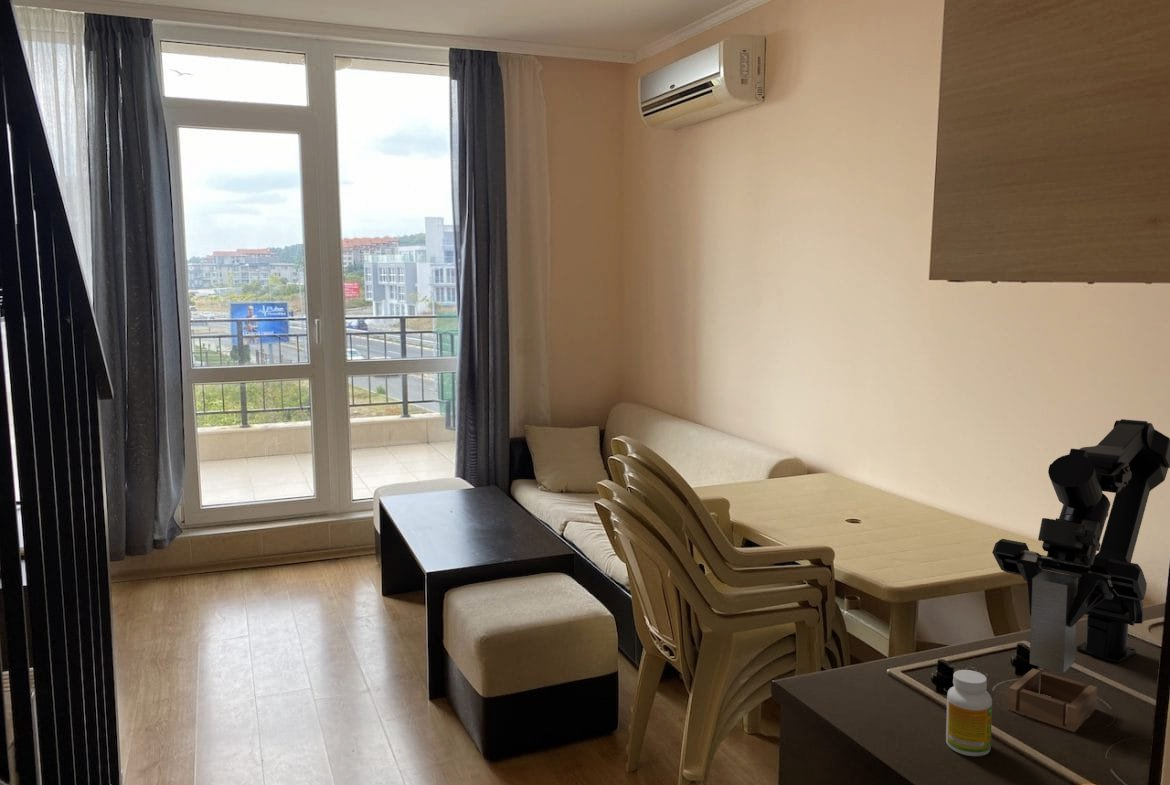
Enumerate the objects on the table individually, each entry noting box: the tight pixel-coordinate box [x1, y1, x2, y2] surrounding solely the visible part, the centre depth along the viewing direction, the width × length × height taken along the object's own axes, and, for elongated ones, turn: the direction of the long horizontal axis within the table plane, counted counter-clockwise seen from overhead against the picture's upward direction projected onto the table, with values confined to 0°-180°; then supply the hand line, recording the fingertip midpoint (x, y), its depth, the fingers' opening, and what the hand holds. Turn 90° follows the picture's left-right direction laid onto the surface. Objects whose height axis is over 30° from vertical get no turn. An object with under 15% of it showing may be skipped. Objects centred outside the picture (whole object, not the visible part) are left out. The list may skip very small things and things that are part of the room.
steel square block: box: [1029, 570, 1078, 674], centre depth 121 cm, size 4×4×12 cm
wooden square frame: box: [1007, 668, 1098, 733], centre depth 123 cm, size 9×9×4 cm
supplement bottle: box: [945, 669, 993, 757], centre depth 114 cm, size 5×5×10 cm
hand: (1050, 621), depth 120 cm, fingers closed on steel square block, 4 cm apart
